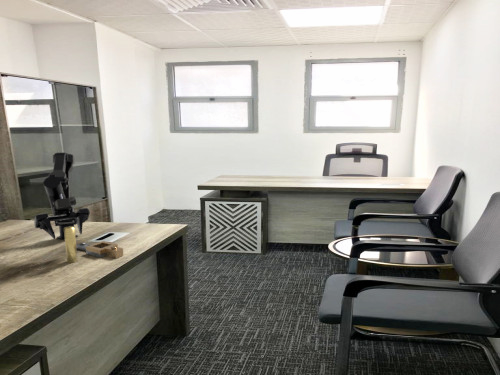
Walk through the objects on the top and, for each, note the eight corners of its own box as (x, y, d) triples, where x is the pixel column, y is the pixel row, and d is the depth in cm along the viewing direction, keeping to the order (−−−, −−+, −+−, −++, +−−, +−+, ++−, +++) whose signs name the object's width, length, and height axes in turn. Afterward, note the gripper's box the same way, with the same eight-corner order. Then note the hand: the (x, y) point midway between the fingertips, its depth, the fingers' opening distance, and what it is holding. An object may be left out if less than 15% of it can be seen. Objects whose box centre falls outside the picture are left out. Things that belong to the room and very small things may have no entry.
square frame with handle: (70, 249, 152) (70, 241, 151) (88, 244, 159) (88, 236, 158) (110, 260, 140) (110, 251, 139) (128, 253, 147) (127, 245, 147)
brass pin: (64, 261, 139) (61, 228, 136) (73, 258, 142) (70, 225, 139) (70, 263, 137) (67, 229, 135) (79, 260, 140) (76, 227, 138)
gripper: (32, 192, 134) (42, 228, 128) (86, 187, 146) (97, 220, 140) (30, 210, 142) (39, 245, 135) (82, 204, 154) (92, 235, 147)
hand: (68, 235), depth 139 cm, fingers open, 9 cm apart
